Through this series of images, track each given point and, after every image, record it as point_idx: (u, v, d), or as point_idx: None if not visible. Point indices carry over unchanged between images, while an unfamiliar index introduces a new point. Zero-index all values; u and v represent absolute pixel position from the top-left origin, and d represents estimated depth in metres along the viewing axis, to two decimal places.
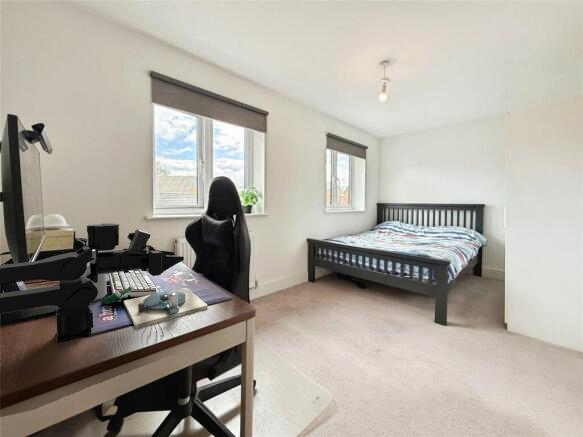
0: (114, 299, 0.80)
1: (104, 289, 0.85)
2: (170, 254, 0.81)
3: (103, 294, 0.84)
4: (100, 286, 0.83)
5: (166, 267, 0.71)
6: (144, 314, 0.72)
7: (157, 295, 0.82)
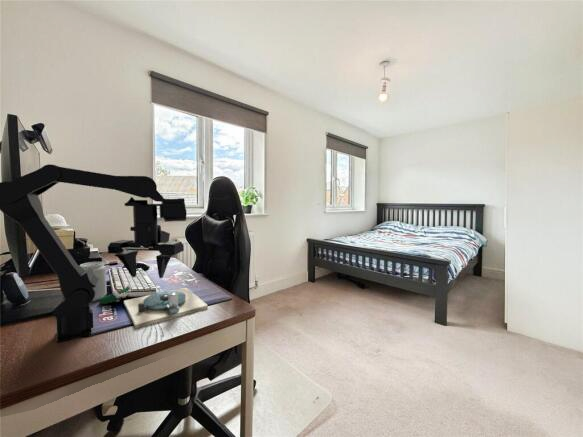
0: (112, 299, 0.80)
1: (104, 289, 0.85)
2: (134, 272, 0.71)
3: (103, 294, 0.84)
4: (100, 286, 0.83)
5: (163, 261, 0.68)
6: (144, 314, 0.72)
7: (157, 295, 0.82)
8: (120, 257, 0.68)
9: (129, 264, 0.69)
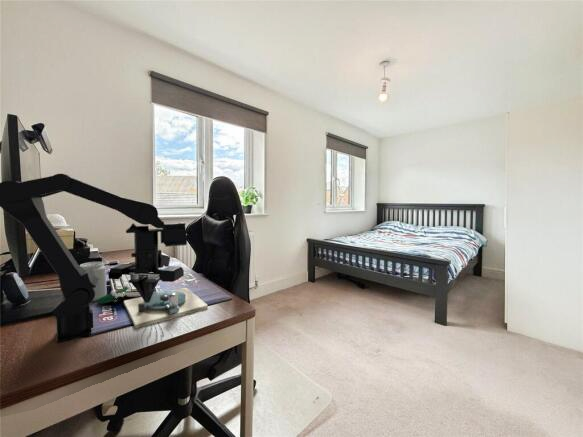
0: (110, 299, 0.80)
1: (104, 289, 0.85)
2: None
3: (103, 294, 0.84)
4: (100, 286, 0.83)
5: (150, 286, 0.69)
6: (144, 314, 0.72)
7: (157, 295, 0.82)
8: (134, 283, 0.68)
9: (142, 290, 0.69)
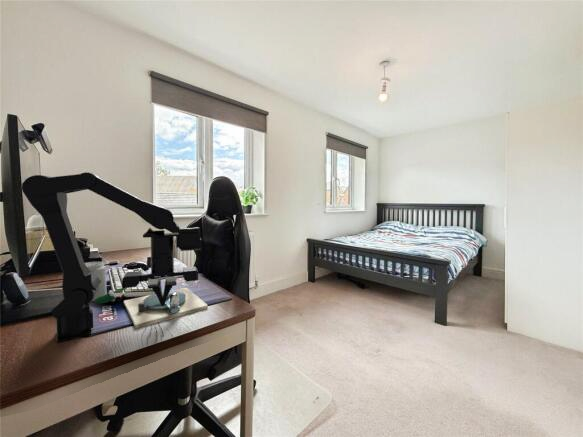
0: (108, 298, 0.80)
1: (104, 289, 0.85)
2: None
3: (103, 294, 0.84)
4: (100, 286, 0.83)
5: None
6: (144, 314, 0.72)
7: None
8: (155, 288, 0.68)
9: (161, 294, 0.70)
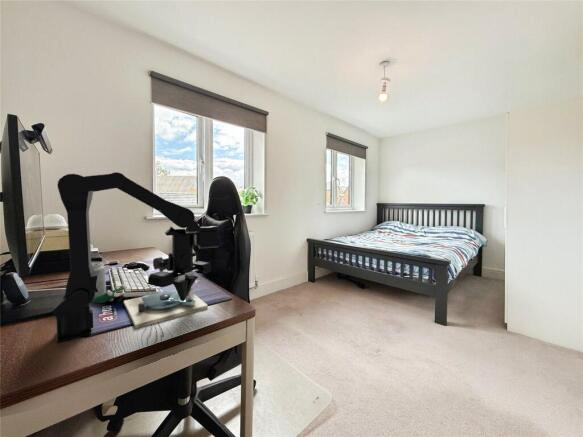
0: (106, 298, 0.80)
1: (103, 289, 0.85)
2: None
3: (102, 294, 0.84)
4: None
5: None
6: (144, 314, 0.72)
7: (152, 298, 0.79)
8: (185, 283, 0.73)
9: None
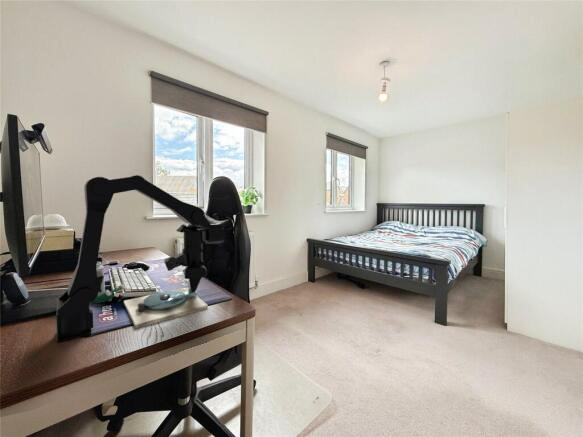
0: (104, 298, 0.80)
1: (102, 289, 0.85)
2: None
3: (101, 294, 0.84)
4: None
5: None
6: (144, 314, 0.72)
7: (154, 302, 0.77)
8: None
9: None
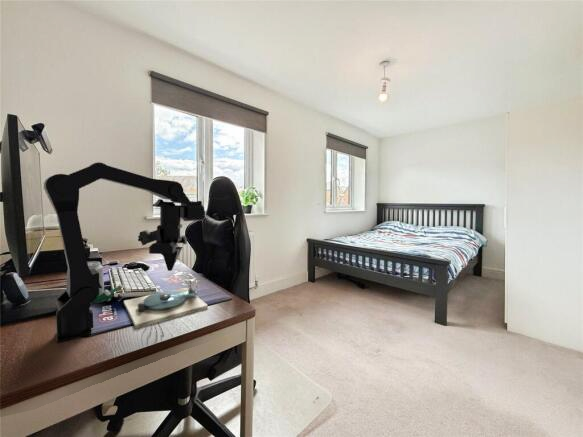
0: (104, 298, 0.80)
1: (101, 289, 0.85)
2: None
3: None
4: None
5: None
6: (144, 314, 0.72)
7: (154, 302, 0.77)
8: (178, 252, 0.78)
9: None
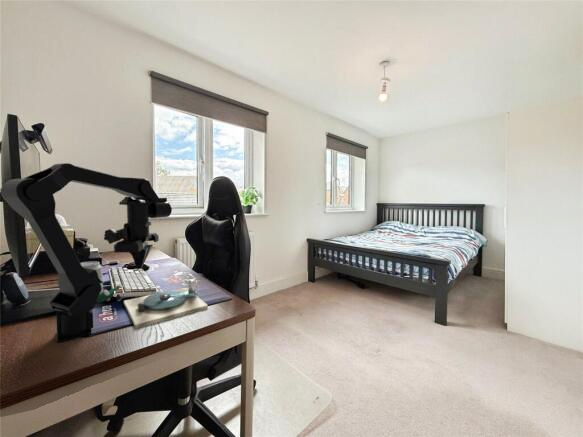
0: (103, 298, 0.80)
1: None
2: None
3: None
4: None
5: None
6: (144, 314, 0.72)
7: (154, 302, 0.77)
8: (146, 250, 0.77)
9: None
